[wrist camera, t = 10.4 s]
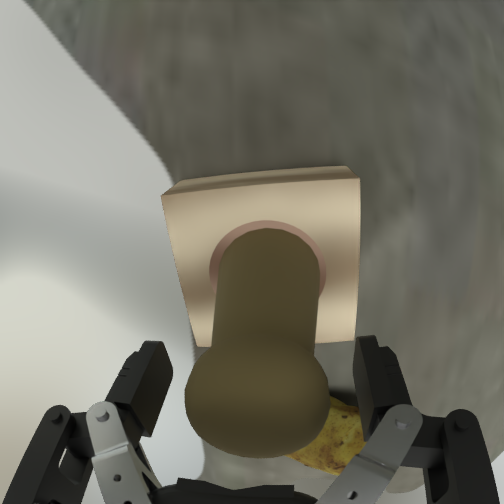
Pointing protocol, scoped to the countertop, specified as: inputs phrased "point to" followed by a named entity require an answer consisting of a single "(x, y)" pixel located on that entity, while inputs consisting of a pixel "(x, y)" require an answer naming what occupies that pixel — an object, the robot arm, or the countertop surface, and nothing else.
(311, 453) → the potato
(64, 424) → the robot arm
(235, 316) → the cork
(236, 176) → the base
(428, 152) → the countertop surface
